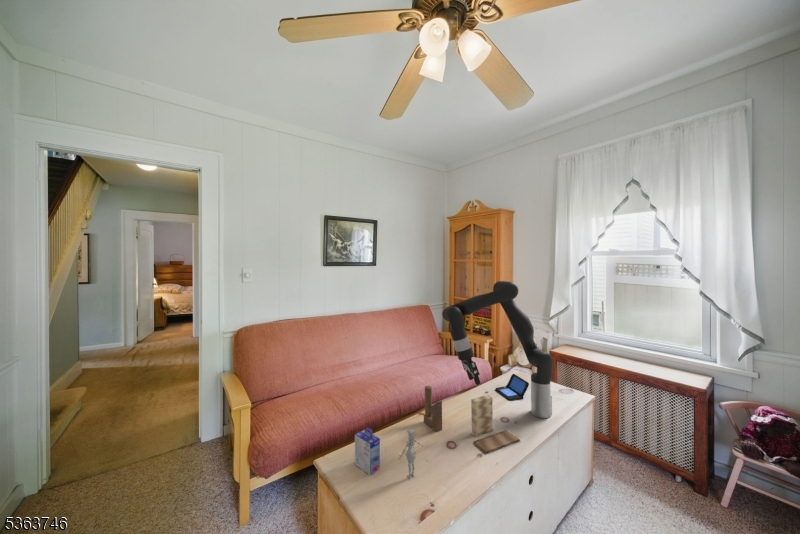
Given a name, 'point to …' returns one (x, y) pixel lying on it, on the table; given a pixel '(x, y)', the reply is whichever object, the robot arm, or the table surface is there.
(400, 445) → the table surface
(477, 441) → the floor panel
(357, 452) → the ink cartridge box
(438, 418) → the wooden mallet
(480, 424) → the oak plank
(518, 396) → the handheld game console
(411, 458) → the human figurine
